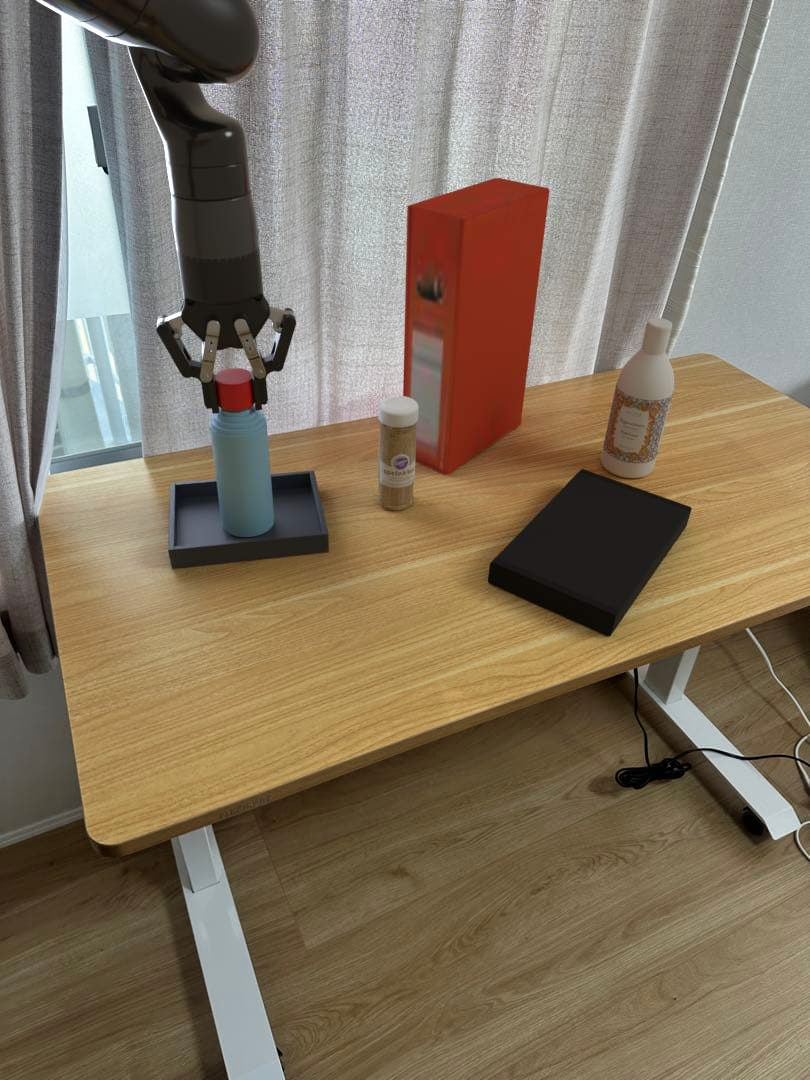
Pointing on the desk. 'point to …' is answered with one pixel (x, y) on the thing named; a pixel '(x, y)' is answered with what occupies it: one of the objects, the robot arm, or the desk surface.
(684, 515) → the external hard drive
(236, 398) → the cap
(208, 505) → the tray
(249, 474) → the bottle
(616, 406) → the bath foam
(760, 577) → the desk surface
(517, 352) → the file binder
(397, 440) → the sprinkles bottle
